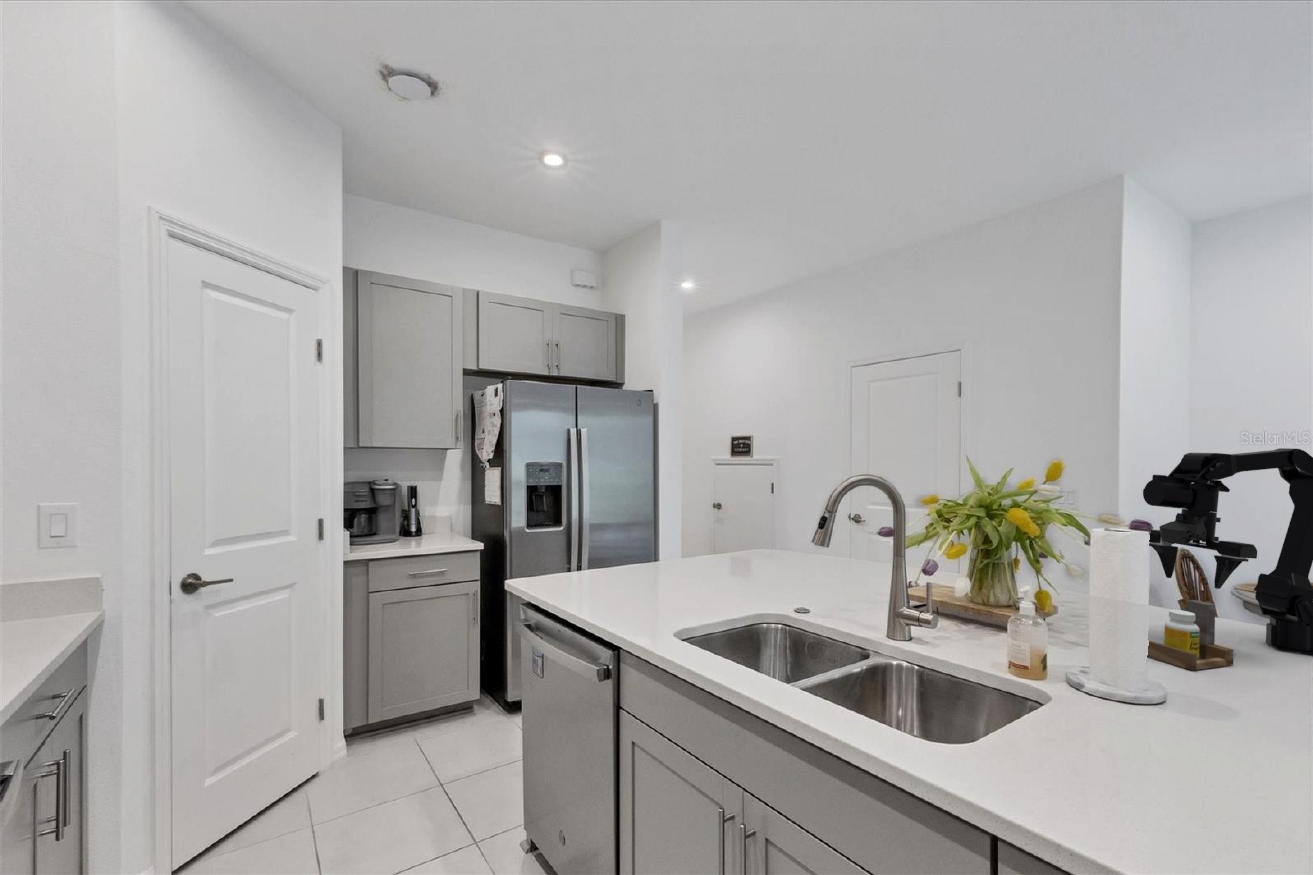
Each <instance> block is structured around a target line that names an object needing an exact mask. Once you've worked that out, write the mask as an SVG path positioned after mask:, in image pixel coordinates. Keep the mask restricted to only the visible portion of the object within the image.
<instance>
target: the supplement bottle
mask: <svg viewBox="0 0 1313 875" xmlns="http://www.w3.org/2000/svg"><path fill="white" fill-rule="evenodd" d="M1168 617H1169V619H1167V620H1166V621H1165V622H1164V638H1163V639H1164V643H1163V644H1164V645H1168V646H1171V647H1175V648H1178V649H1181V650H1185V651H1188V652H1192V653H1195V654H1197V660H1200V658H1199V637H1200V629H1199V627H1198V626H1197V625H1196V624H1194V623H1193V622H1194V621H1195V620H1196V619H1195V614H1194V613H1191V612H1187V610H1181V609H1169V611H1168Z"/></svg>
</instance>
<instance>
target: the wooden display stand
mask: <svg viewBox="0 0 1313 875" xmlns="http://www.w3.org/2000/svg"><path fill="white" fill-rule="evenodd" d="M1186 611H1187V612H1191V613H1194V614H1195V619H1196V620H1195V621H1194V622H1193V623H1194V624H1196V625H1197V626H1198V627H1199V629H1200V637H1199V660H1197V654H1195V653H1192V652H1188V651H1185V650H1181V649H1178V648H1175V647H1171V646H1168V645H1164V643H1161V642H1157V641H1155V640H1150V639H1148V640H1149V646H1148V656H1147V657H1149V658H1153V659H1156V660H1158V661H1162V662H1165V663H1168V664H1172V665H1175V666H1177V667H1181V668H1183V669H1187V670H1190V671H1197V670H1204V669H1211V668H1219V667H1220V668H1222V667H1227V666H1233V665H1234V652H1235V651H1234V649H1233V648H1229V647H1226V646H1222V645H1218V644H1215V638H1216V636H1215V635H1216V634H1215V632H1216V631H1215V629H1216V604H1214V603H1211V602H1210V603H1209V602H1206V601H1202V600H1197V599H1190V600H1186Z"/></svg>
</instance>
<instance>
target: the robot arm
mask: <svg viewBox="0 0 1313 875" xmlns="http://www.w3.org/2000/svg"><path fill="white" fill-rule="evenodd" d="M1272 469H1278V473H1279V476H1280V478H1282V479H1283V480H1284V481H1285V482H1286V483H1287V484H1289V487H1288V488H1289V489H1288V495H1289V497H1290V500H1291V501H1292V504H1293V506H1294V507H1293V510H1292V514H1291V517H1290V521H1289V523H1288V528H1287V530H1286V534H1285V537H1284V541H1283V544H1282V546H1281V551H1280V553H1279V556H1278V560H1277V563H1276V566H1275V568H1274V569H1273V570H1272V571H1271V572H1269V573H1268V574H1266V573H1262V572H1261V573H1259V575H1258V578H1257V583H1256V586H1255V587H1254V589H1253V591H1254V592H1255V596H1254V597H1255V600H1256V601H1257V603H1258V606H1259V609H1260V611H1261V614H1262V615H1263V616H1268V617H1269V622H1267V623H1266V624H1265V625H1266V628H1265V629H1266V630H1265V643H1266V644H1267V645H1269V646H1271V647H1272V648H1274V649H1276V650H1277V651H1282V652H1288V653H1289V652H1291V653H1297V654H1304V655H1311V656H1313V586H1312V583H1311V581H1310V579H1309V575H1310V572H1311V568H1312V567H1313V566H1312V565H1313V456H1312V455H1311V454H1309V453H1308V452H1307V451H1305V450H1304V449H1301V448H1288V447H1287V448H1276V449H1272V450H1261V451H1252V452H1241V453H1231V454H1230V453H1219V452H1188V453H1186V454H1183V457H1182V458H1181V460H1180V462H1179V463H1178V464H1177V465H1176V466H1175V467H1174V469H1173V470H1172V471H1171V472H1170V473H1169V474H1168V475H1166V474H1164V475H1163V474H1152V479H1151V480H1150V481H1148V482H1147V483H1146V485H1145V486H1144V487H1143V489H1142V496H1143V500H1144V501H1145V503H1146V504H1147V505H1150V506H1151V507H1152V506H1153V507H1160V508H1171V509H1181V512H1177V513H1176V515H1175V519H1174V521H1169V522H1167V523H1164V524H1161V525H1160V526H1159V527H1158V528H1159V529H1151V533H1150V540H1149V542H1148V543H1149V546H1148V547H1152V549H1153V550H1154V551H1155V552H1156V553H1157V555H1158V558H1159V560H1160V562H1161V565H1162V568H1163V571H1164V574H1165V578H1167V579H1171V578H1172V577H1173V575H1174V571H1175V567H1176V561H1177V556H1178V555H1177V554H1178V552H1179V546H1176V545H1180V546H1181V545H1182V546H1188V547H1192V548H1193V547H1194V548H1198V549H1204V550H1212V551H1216V552H1217V553H1218V554H1219V555H1213V557H1214V560H1215V562H1216V567H1215V573H1214V580H1213V581H1214V589H1216V590H1220V589H1221V588H1222V587H1223V585H1224V584H1225V583H1226V581H1227V580H1229V579H1228V578H1230V576H1231V575H1232V573H1233V572H1234V571H1235V570H1237V568H1238V567H1239V566H1241V564H1242V563H1243V562H1249V559H1255V560H1256V559H1257V558H1258V549H1257V547H1256V546H1255V544H1253V543H1252V544H1251V543H1245V542H1240V541H1231V540H1219V539H1220V537H1219V536H1216V530H1217V529H1216V527H1217V523H1221V521H1222V520H1221V519H1222V518H1221V517H1217V515H1218V507H1219V496H1220V492H1222V493H1229V492H1231V490H1230V488H1229V487H1228V486H1226V485H1225V484H1224V483H1223V482H1222V479H1226V478H1230V477H1233V476H1235V475H1236V474H1238V473H1241V472H1251V471H1261V470H1262V471H1263V470H1272ZM1175 544H1176V545H1175Z"/></svg>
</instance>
